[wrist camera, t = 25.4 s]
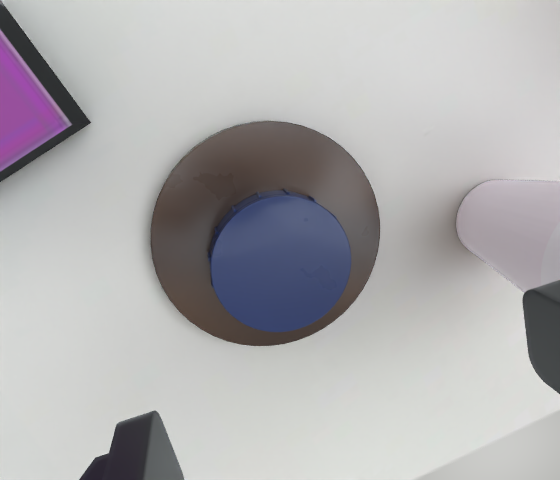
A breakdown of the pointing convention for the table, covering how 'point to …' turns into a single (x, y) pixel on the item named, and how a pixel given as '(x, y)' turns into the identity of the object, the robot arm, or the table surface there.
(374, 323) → the table surface
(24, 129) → the book
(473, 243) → the smoothie
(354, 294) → the coaster
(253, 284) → the jar lid
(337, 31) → the table surface
